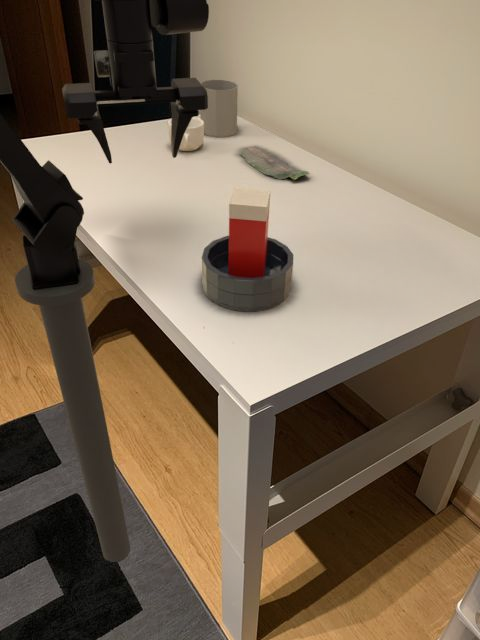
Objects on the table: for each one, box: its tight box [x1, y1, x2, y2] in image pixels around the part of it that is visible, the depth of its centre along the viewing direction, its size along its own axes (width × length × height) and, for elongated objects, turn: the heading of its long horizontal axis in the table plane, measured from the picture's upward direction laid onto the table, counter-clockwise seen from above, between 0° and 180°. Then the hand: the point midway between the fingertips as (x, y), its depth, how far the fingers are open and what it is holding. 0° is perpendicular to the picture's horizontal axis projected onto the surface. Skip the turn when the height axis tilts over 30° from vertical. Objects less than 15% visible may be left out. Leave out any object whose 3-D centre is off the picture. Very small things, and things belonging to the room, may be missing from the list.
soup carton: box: [228, 187, 271, 278], centre depth 75 cm, size 5×5×13 cm
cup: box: [199, 79, 239, 138], centre depth 126 cm, size 8×8×10 cm
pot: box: [201, 235, 294, 313], centre depth 78 cm, size 13×13×5 cm
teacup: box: [167, 116, 205, 152], centre depth 118 cm, size 10×8×5 cm
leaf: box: [239, 146, 311, 180], centre depth 115 cm, size 20×8×1 cm, turn 32°
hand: (142, 159), depth 81 cm, fingers open, 9 cm apart
